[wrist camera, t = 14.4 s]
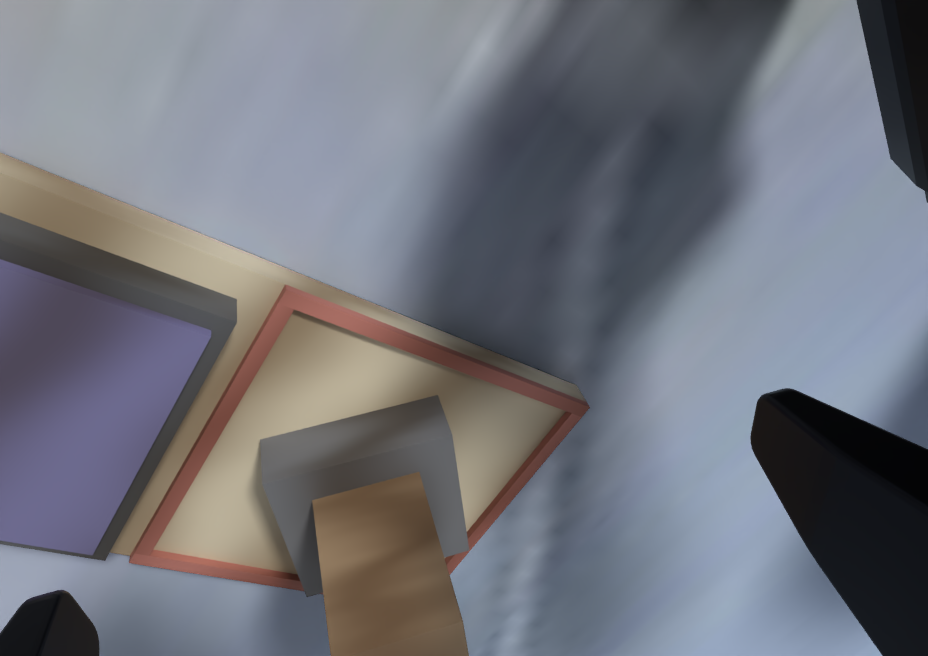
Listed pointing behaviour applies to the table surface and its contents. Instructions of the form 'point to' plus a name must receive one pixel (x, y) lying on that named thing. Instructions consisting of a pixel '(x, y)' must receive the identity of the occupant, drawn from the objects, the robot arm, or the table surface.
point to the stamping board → (211, 386)
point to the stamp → (374, 526)
